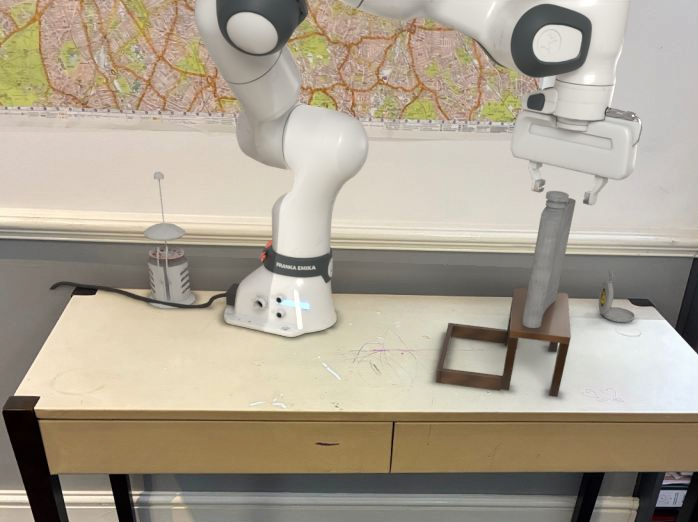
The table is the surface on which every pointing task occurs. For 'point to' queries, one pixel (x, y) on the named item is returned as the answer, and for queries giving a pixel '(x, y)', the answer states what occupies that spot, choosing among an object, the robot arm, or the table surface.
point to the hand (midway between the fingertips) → (562, 197)
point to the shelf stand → (512, 343)
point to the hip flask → (548, 256)
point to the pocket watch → (606, 302)
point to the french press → (167, 264)
